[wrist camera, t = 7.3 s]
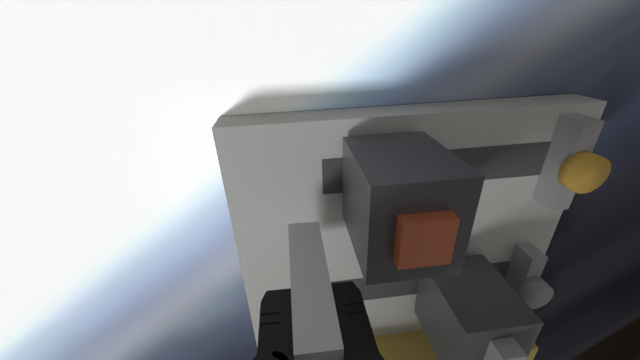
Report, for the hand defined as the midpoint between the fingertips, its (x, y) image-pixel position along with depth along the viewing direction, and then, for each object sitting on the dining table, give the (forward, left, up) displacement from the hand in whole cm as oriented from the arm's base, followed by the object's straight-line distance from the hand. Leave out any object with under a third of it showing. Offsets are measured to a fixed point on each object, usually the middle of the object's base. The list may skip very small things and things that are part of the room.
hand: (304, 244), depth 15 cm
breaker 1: (+4, +3, -2) cm, 5 cm away
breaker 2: (+9, -6, -2) cm, 11 cm away
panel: (+6, -10, -4) cm, 13 cm away
